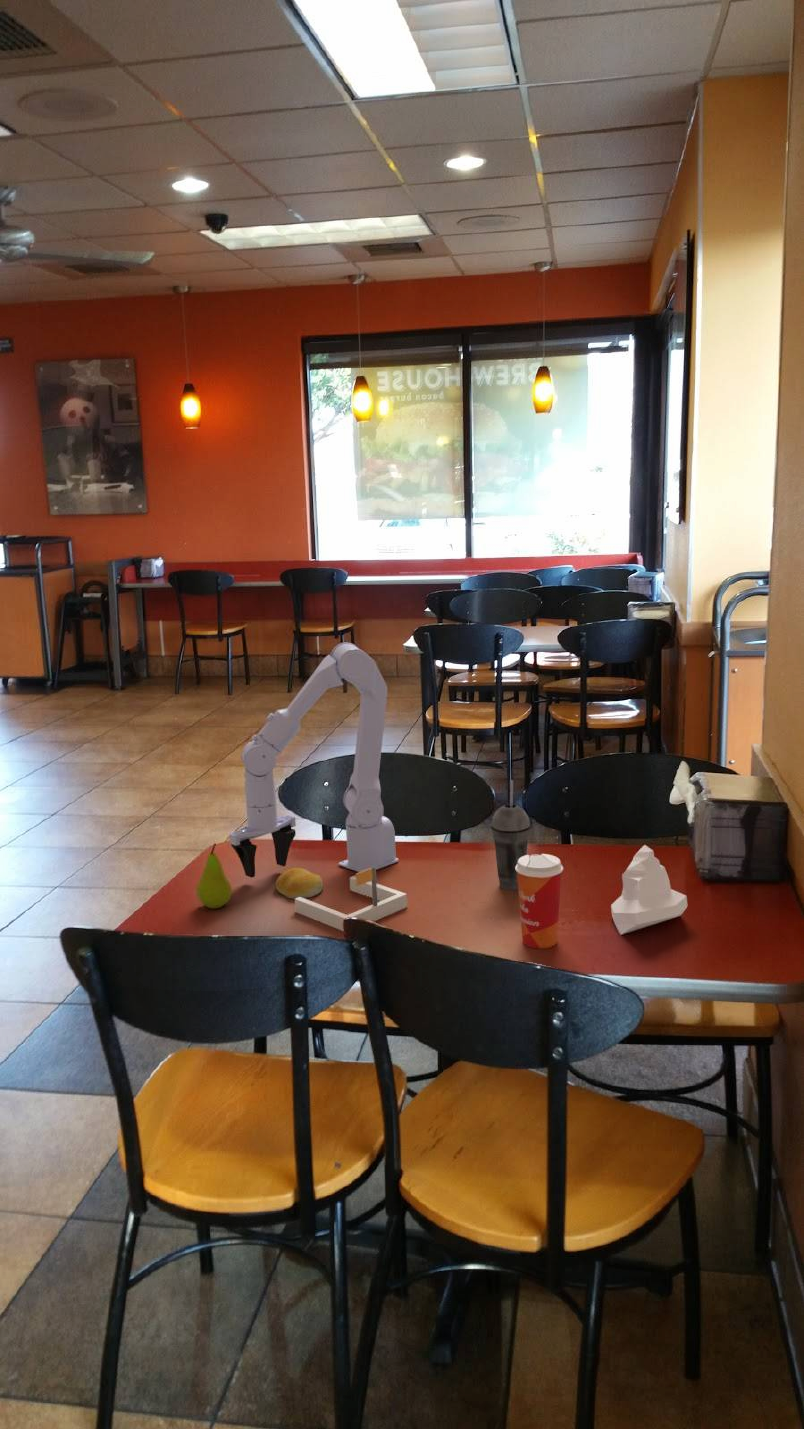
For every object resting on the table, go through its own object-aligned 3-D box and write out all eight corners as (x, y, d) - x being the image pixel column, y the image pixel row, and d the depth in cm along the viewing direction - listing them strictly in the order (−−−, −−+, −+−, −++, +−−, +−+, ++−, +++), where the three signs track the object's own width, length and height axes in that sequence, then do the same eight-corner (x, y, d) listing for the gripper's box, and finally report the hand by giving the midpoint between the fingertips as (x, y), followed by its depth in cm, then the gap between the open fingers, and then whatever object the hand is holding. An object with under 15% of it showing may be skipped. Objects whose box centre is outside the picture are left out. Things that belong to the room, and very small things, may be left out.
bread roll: (297, 904, 194) (295, 883, 193) (269, 891, 201) (268, 871, 200) (333, 891, 199) (332, 871, 198) (305, 879, 206) (304, 859, 205)
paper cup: (512, 933, 178) (511, 853, 175) (557, 930, 178) (557, 850, 175) (521, 953, 170) (520, 871, 167) (568, 950, 171) (568, 867, 168)
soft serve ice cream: (588, 932, 180) (580, 849, 181) (654, 919, 188) (646, 839, 188) (638, 940, 170) (629, 850, 170) (706, 925, 177) (698, 840, 178)
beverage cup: (487, 890, 196) (484, 786, 192) (498, 876, 203) (496, 775, 199) (525, 894, 194) (523, 789, 189) (535, 880, 200) (534, 778, 196)
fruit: (190, 907, 194) (185, 845, 191) (217, 897, 198) (212, 835, 196) (213, 916, 190) (208, 852, 187) (240, 904, 194) (235, 842, 191)
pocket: (354, 888, 200) (352, 840, 198) (407, 906, 190) (405, 856, 188) (295, 911, 190) (292, 861, 188) (347, 932, 180) (344, 880, 178)
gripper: (278, 790, 212) (282, 855, 215) (217, 808, 202) (223, 876, 205) (300, 797, 207) (304, 863, 210) (240, 815, 197) (245, 884, 200)
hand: (265, 870), depth 207 cm, fingers open, 7 cm apart
